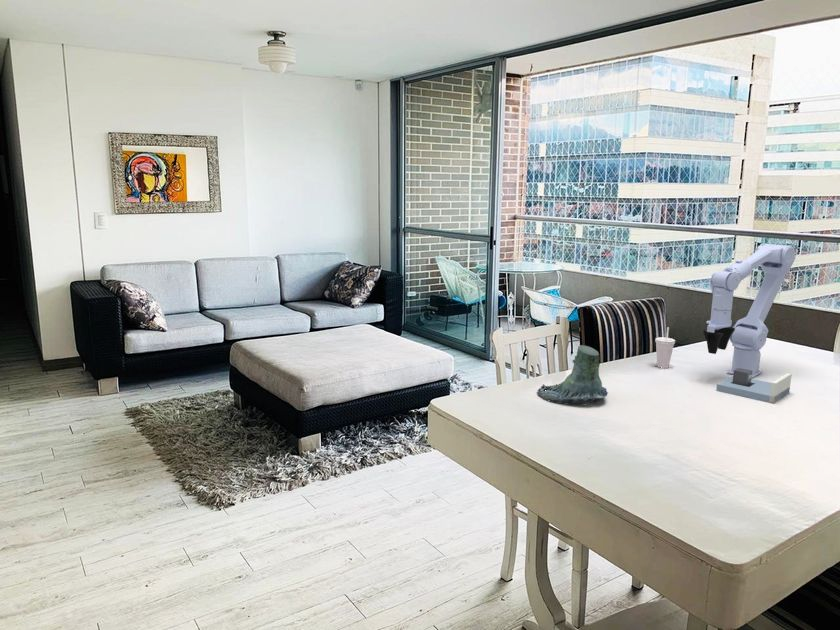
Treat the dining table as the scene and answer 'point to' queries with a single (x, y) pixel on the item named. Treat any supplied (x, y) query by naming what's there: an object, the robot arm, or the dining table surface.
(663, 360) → the smoothie
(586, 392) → the tree stump
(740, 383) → the plug
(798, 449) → the dining table surface
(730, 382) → the outlet plate
